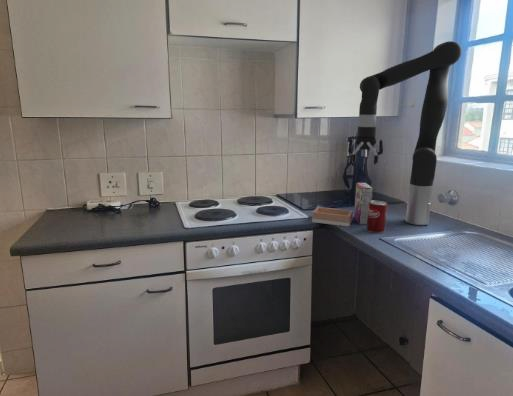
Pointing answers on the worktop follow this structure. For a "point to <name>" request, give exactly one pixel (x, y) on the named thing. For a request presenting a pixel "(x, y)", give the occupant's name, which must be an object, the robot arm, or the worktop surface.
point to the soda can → (376, 216)
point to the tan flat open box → (332, 216)
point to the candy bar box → (362, 202)
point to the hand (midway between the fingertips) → (364, 163)
